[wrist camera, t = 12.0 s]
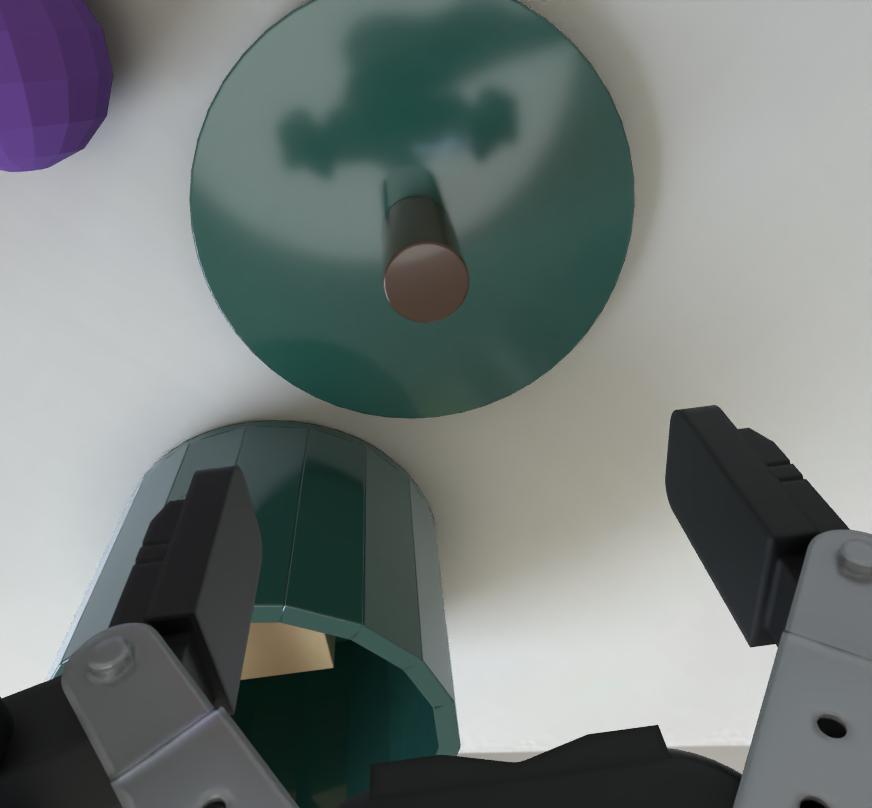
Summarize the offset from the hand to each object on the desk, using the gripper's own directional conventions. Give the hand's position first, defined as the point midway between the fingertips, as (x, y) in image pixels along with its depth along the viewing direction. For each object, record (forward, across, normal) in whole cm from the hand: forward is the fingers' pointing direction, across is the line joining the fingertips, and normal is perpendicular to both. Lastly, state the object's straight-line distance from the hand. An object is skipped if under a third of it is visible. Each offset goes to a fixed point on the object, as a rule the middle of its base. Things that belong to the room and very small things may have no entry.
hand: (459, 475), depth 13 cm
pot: (+16, +8, +15) cm, 23 cm away
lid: (+15, 0, 0) cm, 15 cm away
